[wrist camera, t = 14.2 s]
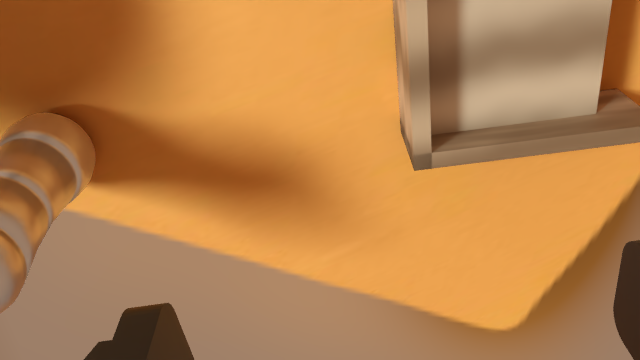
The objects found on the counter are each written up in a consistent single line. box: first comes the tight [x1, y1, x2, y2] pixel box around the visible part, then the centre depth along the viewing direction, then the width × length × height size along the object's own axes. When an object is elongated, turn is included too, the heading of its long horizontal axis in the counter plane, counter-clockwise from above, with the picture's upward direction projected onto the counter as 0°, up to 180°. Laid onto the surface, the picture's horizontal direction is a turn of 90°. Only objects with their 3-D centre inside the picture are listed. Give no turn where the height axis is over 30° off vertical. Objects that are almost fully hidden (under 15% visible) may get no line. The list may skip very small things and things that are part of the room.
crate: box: [393, 0, 640, 171], centre depth 36 cm, size 13×16×6 cm
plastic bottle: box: [0, 112, 96, 314], centre depth 34 cm, size 6×7×20 cm
